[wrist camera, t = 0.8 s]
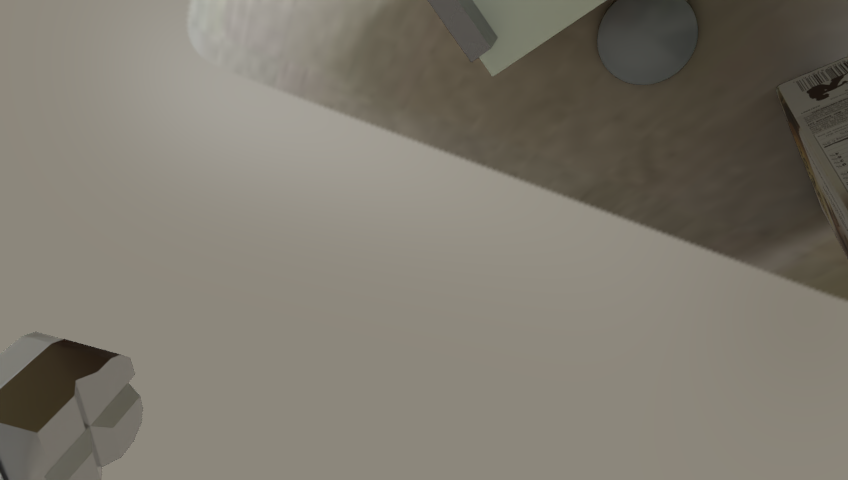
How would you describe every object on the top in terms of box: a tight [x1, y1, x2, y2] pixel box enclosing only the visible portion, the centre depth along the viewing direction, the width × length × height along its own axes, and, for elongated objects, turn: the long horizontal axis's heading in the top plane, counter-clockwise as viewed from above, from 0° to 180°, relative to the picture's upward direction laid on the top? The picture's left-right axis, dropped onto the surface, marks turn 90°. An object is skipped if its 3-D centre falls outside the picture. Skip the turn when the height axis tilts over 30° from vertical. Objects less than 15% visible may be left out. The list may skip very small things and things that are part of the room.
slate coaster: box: [597, 0, 698, 85], centre depth 38 cm, size 6×6×1 cm
